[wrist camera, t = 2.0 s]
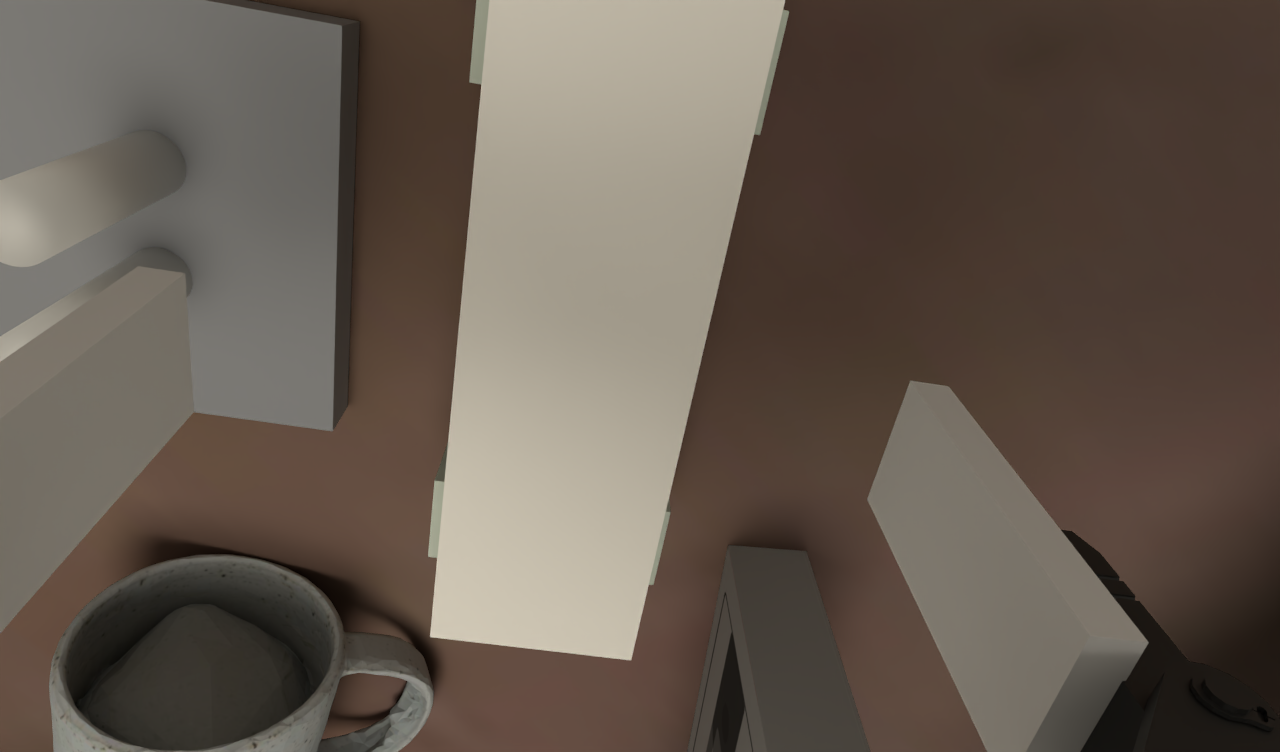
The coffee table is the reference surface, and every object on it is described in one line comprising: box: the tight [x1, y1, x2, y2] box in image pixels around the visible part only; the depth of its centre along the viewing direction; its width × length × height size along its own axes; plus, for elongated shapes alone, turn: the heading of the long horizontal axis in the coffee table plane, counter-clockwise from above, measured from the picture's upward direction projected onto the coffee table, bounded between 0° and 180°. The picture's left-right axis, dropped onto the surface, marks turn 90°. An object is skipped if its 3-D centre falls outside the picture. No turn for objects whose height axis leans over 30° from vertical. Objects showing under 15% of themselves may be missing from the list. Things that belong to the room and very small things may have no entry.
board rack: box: [428, 0, 789, 585], centre depth 22 cm, size 6×14×5 cm, turn 170°
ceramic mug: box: [49, 554, 434, 752], centre depth 27 cm, size 11×8×8 cm
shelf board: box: [430, 0, 785, 660], centre depth 18 cm, size 16×5×2 cm, turn 170°
